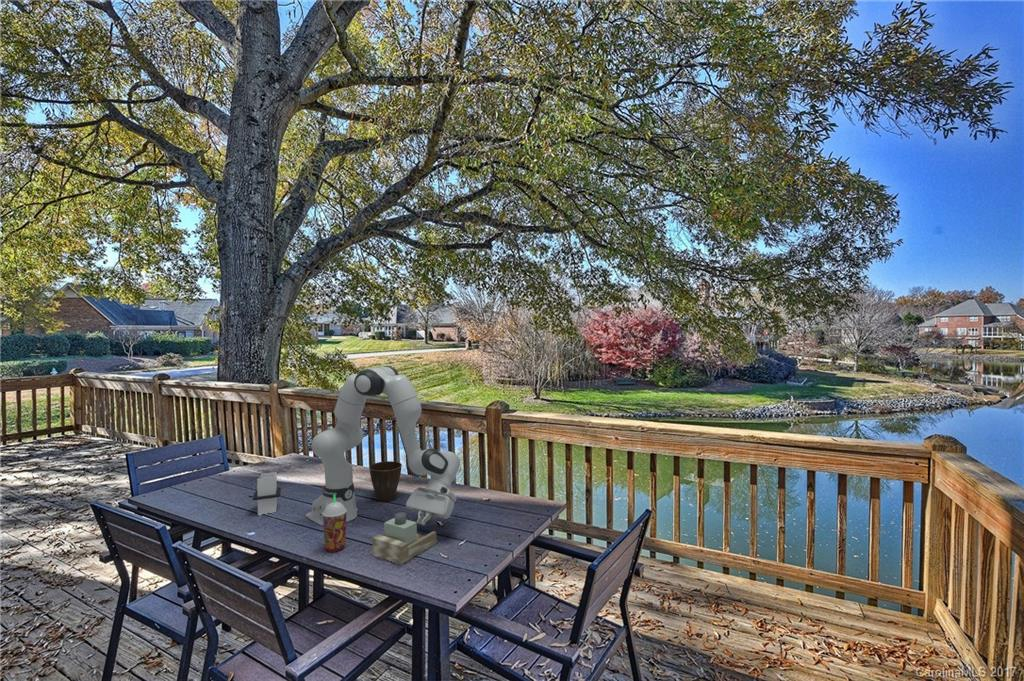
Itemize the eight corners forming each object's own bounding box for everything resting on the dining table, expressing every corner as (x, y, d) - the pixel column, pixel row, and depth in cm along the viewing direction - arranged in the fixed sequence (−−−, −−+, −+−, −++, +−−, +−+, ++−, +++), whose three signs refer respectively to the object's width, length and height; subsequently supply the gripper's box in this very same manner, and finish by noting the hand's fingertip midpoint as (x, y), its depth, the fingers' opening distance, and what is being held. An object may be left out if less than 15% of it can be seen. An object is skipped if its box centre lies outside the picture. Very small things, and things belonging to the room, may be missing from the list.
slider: (384, 547, 169) (384, 514, 169) (396, 540, 174) (396, 508, 174) (405, 553, 164) (404, 520, 164) (416, 547, 169) (416, 514, 169)
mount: (372, 555, 167) (372, 537, 167) (409, 535, 183) (409, 518, 183) (401, 565, 160) (401, 546, 160) (437, 543, 176) (437, 526, 176)
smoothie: (319, 548, 172) (318, 494, 172) (341, 541, 178) (340, 489, 178) (328, 556, 167) (328, 500, 166) (351, 548, 172) (350, 494, 172)
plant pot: (406, 493, 229) (406, 461, 229) (395, 505, 215) (395, 470, 214) (376, 493, 231) (376, 460, 230) (364, 504, 216) (364, 470, 216)
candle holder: (240, 506, 215) (239, 471, 215) (298, 498, 225) (297, 464, 224) (232, 527, 192) (231, 487, 192) (297, 517, 202) (296, 480, 202)
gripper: (412, 482, 190) (395, 514, 181) (453, 491, 179) (436, 525, 171) (420, 490, 194) (404, 522, 185) (460, 499, 183) (444, 533, 175)
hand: (420, 524), depth 178 cm, fingers closed
